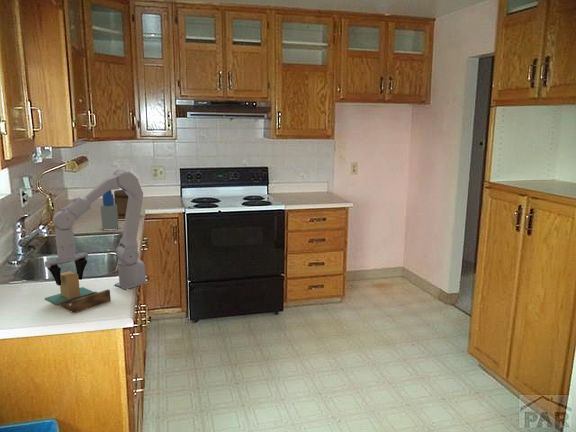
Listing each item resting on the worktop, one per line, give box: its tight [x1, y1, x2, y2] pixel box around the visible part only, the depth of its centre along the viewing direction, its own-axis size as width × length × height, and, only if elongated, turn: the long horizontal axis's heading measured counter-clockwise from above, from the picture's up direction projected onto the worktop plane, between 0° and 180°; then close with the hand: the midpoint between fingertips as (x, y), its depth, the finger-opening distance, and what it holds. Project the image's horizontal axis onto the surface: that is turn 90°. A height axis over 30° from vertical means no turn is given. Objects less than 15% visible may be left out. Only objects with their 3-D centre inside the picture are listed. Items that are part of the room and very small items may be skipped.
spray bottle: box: [100, 190, 119, 230], centre depth 264 cm, size 9×9×25 cm
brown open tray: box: [58, 289, 111, 314], centre depth 156 cm, size 13×10×4 cm
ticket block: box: [59, 271, 81, 299], centre depth 162 cm, size 4×6×8 cm, turn 52°
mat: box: [44, 286, 94, 306], centre depth 163 cm, size 14×10×1 cm
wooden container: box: [113, 189, 128, 219], centre depth 295 cm, size 15×15×22 cm
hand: (69, 281), depth 162 cm, fingers open, 7 cm apart
